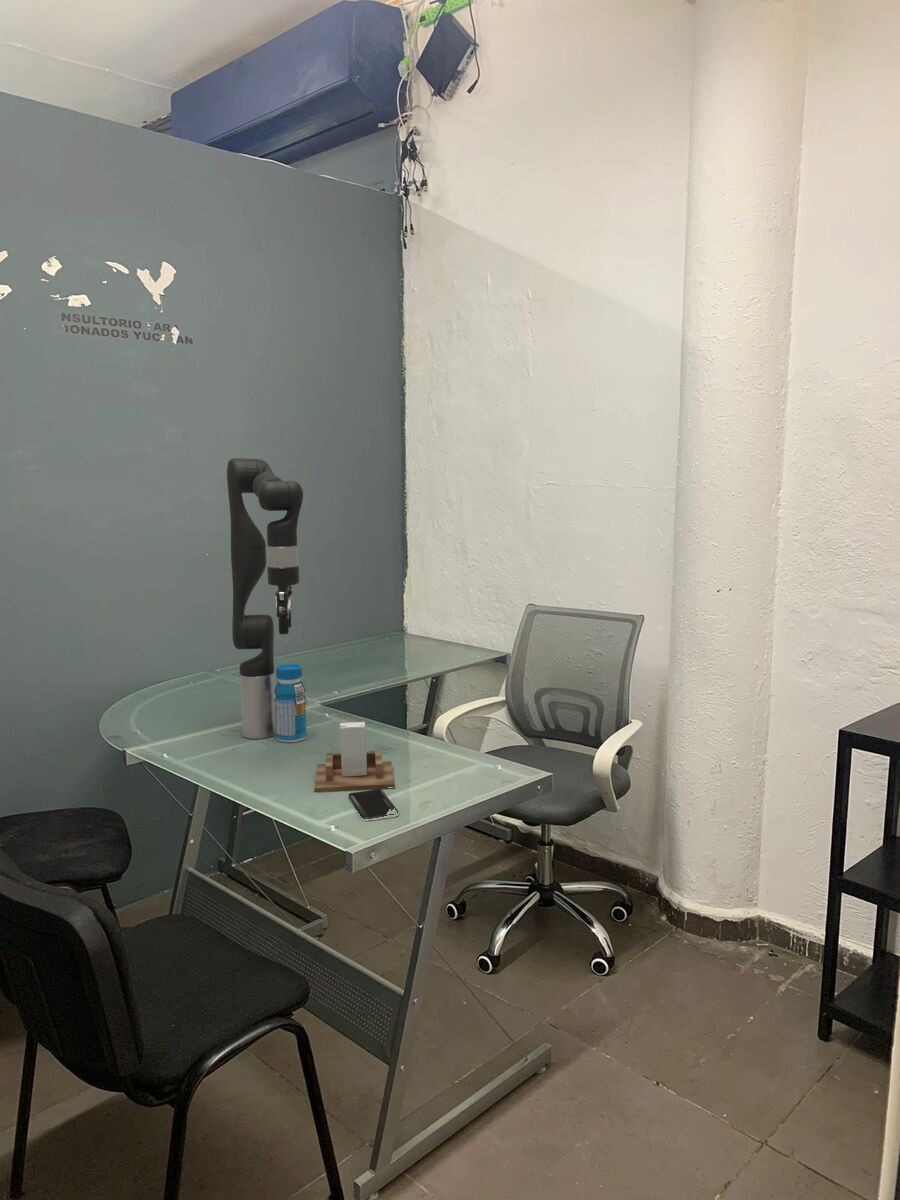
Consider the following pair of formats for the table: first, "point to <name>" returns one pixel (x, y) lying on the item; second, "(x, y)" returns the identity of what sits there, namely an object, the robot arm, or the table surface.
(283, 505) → the robot arm
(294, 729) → the beverage bottle
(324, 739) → the table surface
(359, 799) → the phone
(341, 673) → the table surface
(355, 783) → the u rest
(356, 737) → the skincare box
